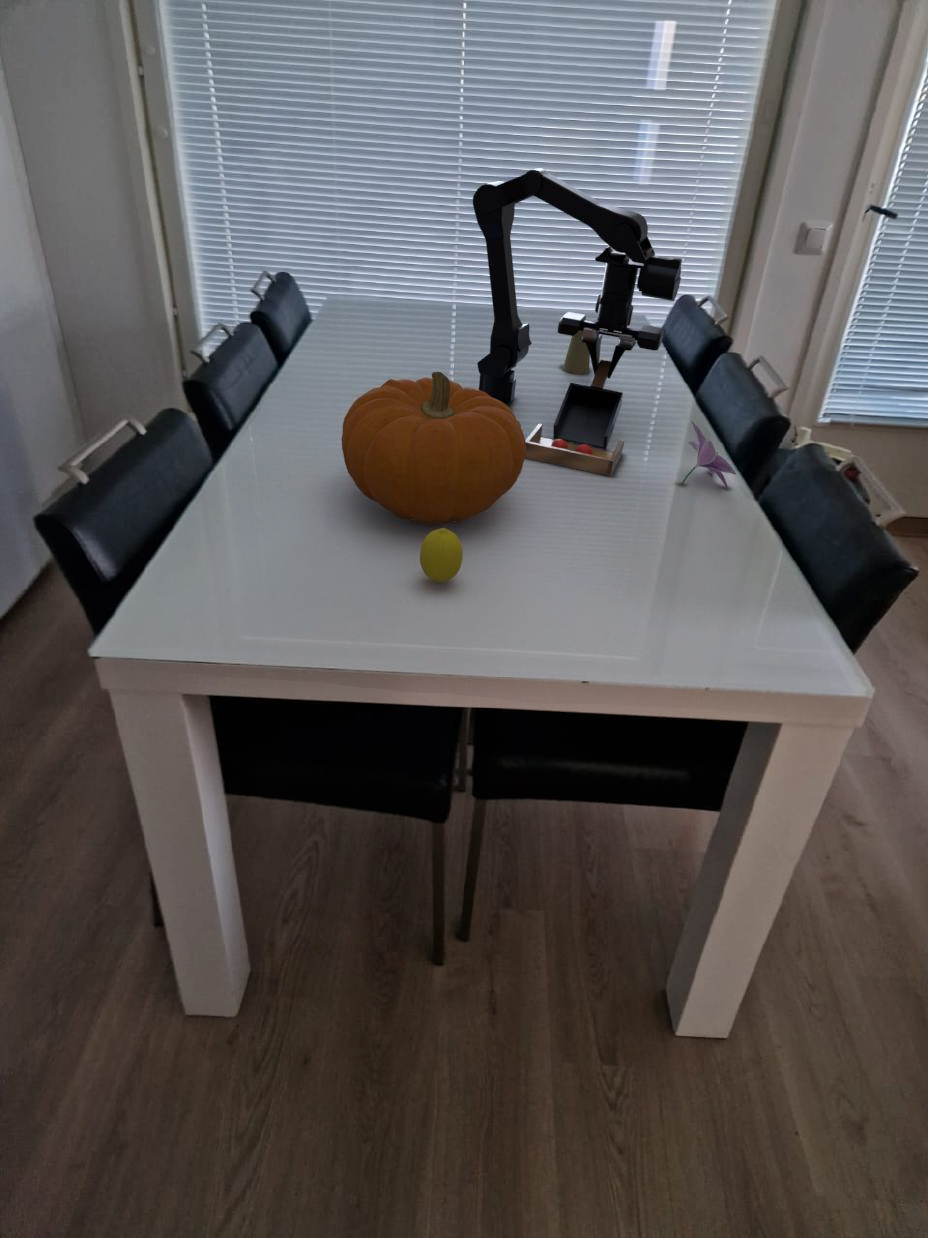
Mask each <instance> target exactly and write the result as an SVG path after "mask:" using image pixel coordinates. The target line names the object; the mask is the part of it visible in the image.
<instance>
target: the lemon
mask: <svg viewBox="0 0 928 1238" xmlns="http://www.w3.org/2000/svg"><path fill="white" fill-rule="evenodd" d="M419 552H420V553H419V564H420V568H421V570H422V572H423V573H424V574H425V576H426V577H427V578H428V579H430V580H432V581H435V582H436V583H438V584H441V583H443V582H448V581H450V580H452V579H453V578H454V577H455V576H457V574H458V573H459V572H460V570H461V567H462V564H463V558H464V553H463V546H462V543H461V539H460V538H459V537H458V536H457V534H456V533H454V532H453V531H452V530H449V529H447V528H445V527H441V528H437V529H435V530H434V529H433V530H432V531H430V532H429V533H428V534H426V536H425V537H424V539H423V541H422V543H421V546H420V551H419Z"/></svg>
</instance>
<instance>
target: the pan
mask: <svg viewBox="0 0 928 1238" xmlns="http://www.w3.org/2000/svg"><path fill="white" fill-rule="evenodd" d="M610 364H611V360H605V359H600V360H599V365H598V368H597V371H596V373H595V376H594V375H593V379H592V382H591V384H590V385H587V384H581V383H576V382H570V383H569V385H568V388H567V390H566V392H565V395H564V397H563V399H562V403H561V404H560V407H559V410H558V413H557V414H556V418H555V421H554V423H553V431H552V432H553V433H552V435H553V436H552V439H553V440H557V439H563V440H565V441H566V442H567V443H572V444H577V445H581V444H587V445H589V446H590V447H591V448H596V449H600V450H607V448H608V445H609V443H610V440H611V437H612V434H613V431H614V429H615V426H616V423H617V419H618V417H619V414H620V411H621V408H622V404H623V394H624V393H623V392H622V391H618V390H611V389H606V388H605V385H606V383H607V379H608V371H609V368H610Z"/></svg>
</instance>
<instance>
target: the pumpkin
mask: <svg viewBox="0 0 928 1238" xmlns="http://www.w3.org/2000/svg"><path fill="white" fill-rule="evenodd" d="M341 434H342V435H341V450H342V455H343V460H344V464H345V467H346V470H347V474H349V476H350V478H351V479H352V481H353V482H354V484H355V486H356V487H357V488H358V490H360V492H361V493H362V494H363V496H365V497H366V498H368V499H370V500H372V501H373V502H375V503H377V504H378V505H380V506H381V507H382V508H384V509H386V510H388V511H390V512H391V513H392V514H394V515H395V516H396V517H399V518H401V519H403V520H413V521H414V522H416V523H418V524H421V525H443V524H445V523H448V522H449V523H454V522H455V523H456V522H462V521H465V520H469V519H471V518H473V517H476V516H479V515H481V514H482V513H484V512H485V511H487V510H488V509H490V508H491V507H492V506H493V505H494V504H495V503H496V502H497V501H498V500H499V499H501V498H502V496H504V495H505V494H506V493H507V492H508V491H510V490H511V489H512V488H513V486H514V485H515V483H516V482H517V481H518V479H519V477H520V475H521V472H522V470H523V466H524V462H525V459H526V458H525V456H526V442H525V440H526V438H525V435H524V431H523V429H522V424H521V423H520V421H519V420H518V419H517V417H516V415H515V413H513V411H512V409H511V408H510V407H509V405H505V404H504V403H502V402H501V401H499V400H497V399H495V398H492V397H491V396H489V395H488V394H486V393H485V392H483V391H480V390H479V389H476V388H472V387H464V388H463V386H462V385H460V383H457V382H455V381H453V380H450V379H449V378H448V376H447V375H445V374H444V373H443V372H441V371H433V372H432V373H431V377H422V378H418V379H416V380H415V381H414V380H412V379H407V378H406V379H405V378H403V379H402V378H401V379H397V380H396V379H392V378H390V379H388V380H386V381H384V383H383V384H382V385H380V386H378V387H373V388H372V389H370V390H368V391H366V392H365V393H363V394H362V395H360V396H358V397H357V399H356V400H354V401H353V403H352V405H350V407H349V408H348V410H347V412H346V415H345V416H344V419H343V422H342V433H341Z"/></svg>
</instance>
